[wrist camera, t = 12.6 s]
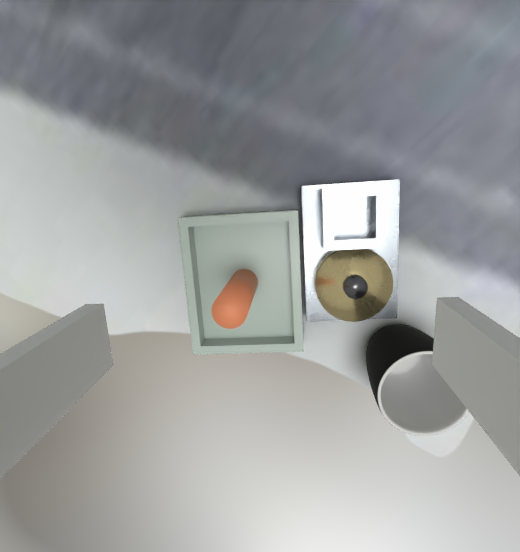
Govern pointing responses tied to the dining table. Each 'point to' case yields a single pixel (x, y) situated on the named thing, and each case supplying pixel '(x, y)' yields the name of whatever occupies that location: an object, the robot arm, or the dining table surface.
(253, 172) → the dining table surface
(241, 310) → the pin
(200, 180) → the dining table surface
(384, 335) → the mug
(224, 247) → the tray
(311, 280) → the pulley block
